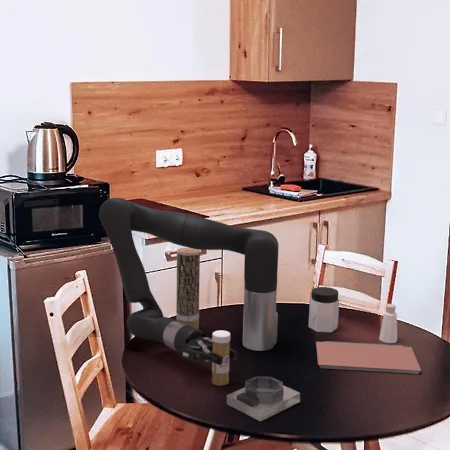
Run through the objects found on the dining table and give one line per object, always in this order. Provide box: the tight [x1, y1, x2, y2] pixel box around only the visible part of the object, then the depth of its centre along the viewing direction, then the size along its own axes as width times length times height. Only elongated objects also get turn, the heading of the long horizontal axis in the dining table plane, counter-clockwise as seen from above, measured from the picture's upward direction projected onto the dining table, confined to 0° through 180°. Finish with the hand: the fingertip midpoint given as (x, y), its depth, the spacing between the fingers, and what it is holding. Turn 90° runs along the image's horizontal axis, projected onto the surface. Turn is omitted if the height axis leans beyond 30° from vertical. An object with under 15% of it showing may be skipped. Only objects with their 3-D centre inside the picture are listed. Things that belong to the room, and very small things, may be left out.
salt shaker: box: [378, 303, 398, 344], centre depth 208 cm, size 5×5×11 cm
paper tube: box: [175, 247, 201, 330], centre depth 210 cm, size 7×7×25 cm
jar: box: [308, 286, 340, 333], centre depth 216 cm, size 9×8×12 cm
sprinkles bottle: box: [211, 329, 231, 387], centre depth 178 cm, size 5×5×14 cm
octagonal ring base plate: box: [226, 376, 301, 422], centre depth 169 cm, size 14×11×5 cm
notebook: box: [315, 340, 422, 375], centre depth 196 cm, size 27×17×2 cm, turn 85°
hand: (228, 358), depth 176 cm, fingers closed on sprinkles bottle, 4 cm apart
